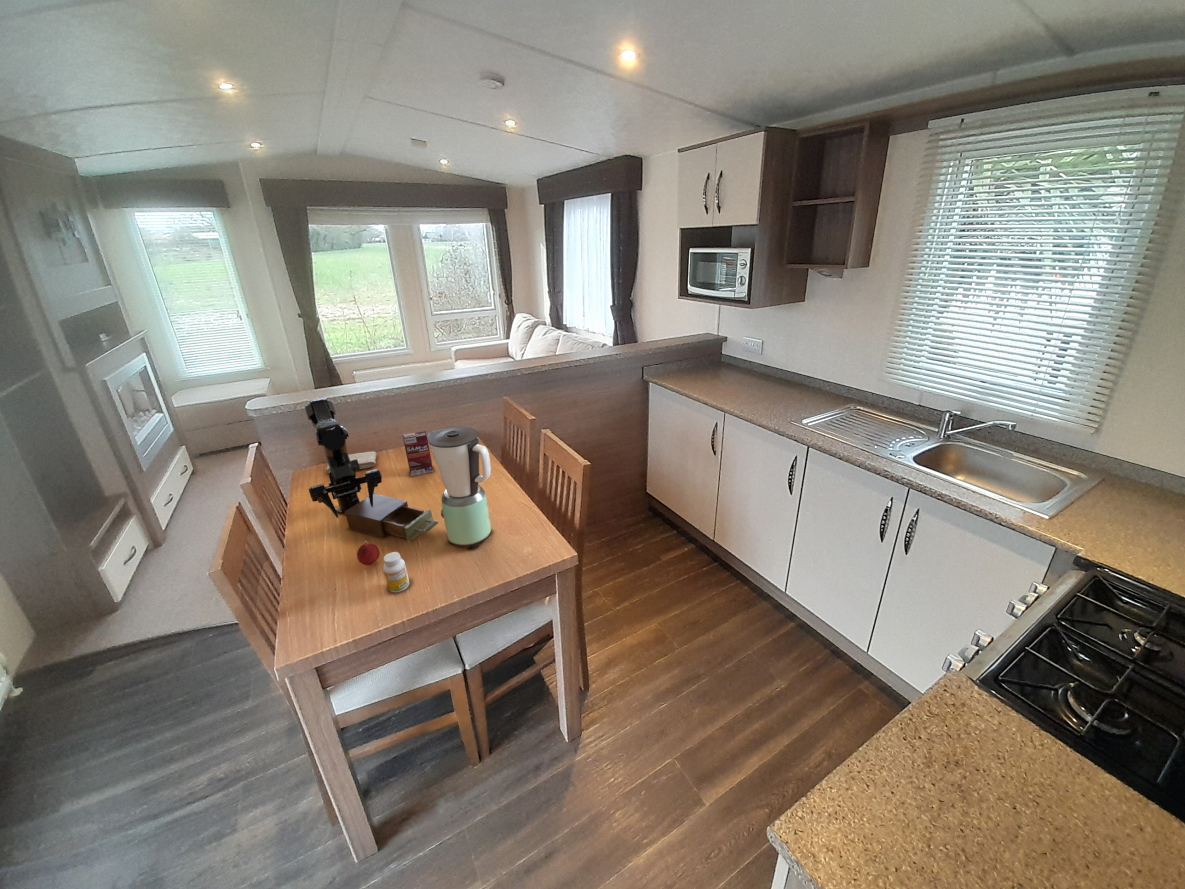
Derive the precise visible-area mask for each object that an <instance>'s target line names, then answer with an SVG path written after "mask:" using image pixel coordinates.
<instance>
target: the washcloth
mask: <svg viewBox="0 0 1185 889" xmlns="http://www.w3.org/2000/svg"><path fill="white" fill-rule="evenodd" d="M348 456H349V459H350V461H352V460H356V459H357V460H358V463H359V466H360V470H362V469H369V468H372V467H375V466H376V462H377V461H376V459H377V452H376V451H364V452H357V453H351V454H348ZM325 470H326V473H327V474H330V472H331V471H330V468H329V465H328V464H327V466H326V469H325Z"/></svg>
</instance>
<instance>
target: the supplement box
mask: <svg viewBox="0 0 1185 889" xmlns="http://www.w3.org/2000/svg"><path fill="white" fill-rule="evenodd" d="M402 439H403V445H404V450H405V455H406V460H407V465H408V469H409V470H408V471H409V474H410V476H411V477H413V476H418V475H423V474H428V473H433V472H434V467H433V461H432V456H431V451H430V450H431V449H430V444H429V442H428V434H427V431H426V430H423V431H418V432H411V433H406V434H402Z"/></svg>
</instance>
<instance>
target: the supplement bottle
mask: <svg viewBox="0 0 1185 889" xmlns="http://www.w3.org/2000/svg"><path fill="white" fill-rule="evenodd" d="M383 562H384V564H383V566H382V570H383V574H384V577H385V581H386V586H387V588H388V590H389V591H390V592H391V593H400V592H403V591H405V590H406V589H407V588H408V587H409V586H410V577H409V573H408V570H407V566H406V562H405V560H404V559H403V558H402V557H401V554H400V553H399V552H398V551H392V552H389V553H387V554H385V555H384V557H383Z"/></svg>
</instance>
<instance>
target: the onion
mask: <svg viewBox="0 0 1185 889" xmlns="http://www.w3.org/2000/svg"><path fill="white" fill-rule="evenodd" d="M380 555H381V552H380V548H379V547H378V546H377V545H376V544H374V543H372V542H369V540H364V541H363V543H362V544H361V545H360V546H359V547H358V549H357V551H356V558H357V560H358V563H360V564H362V565H363V566H372V565H374V564H375V563H376V562H378V560H379V558H380Z"/></svg>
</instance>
